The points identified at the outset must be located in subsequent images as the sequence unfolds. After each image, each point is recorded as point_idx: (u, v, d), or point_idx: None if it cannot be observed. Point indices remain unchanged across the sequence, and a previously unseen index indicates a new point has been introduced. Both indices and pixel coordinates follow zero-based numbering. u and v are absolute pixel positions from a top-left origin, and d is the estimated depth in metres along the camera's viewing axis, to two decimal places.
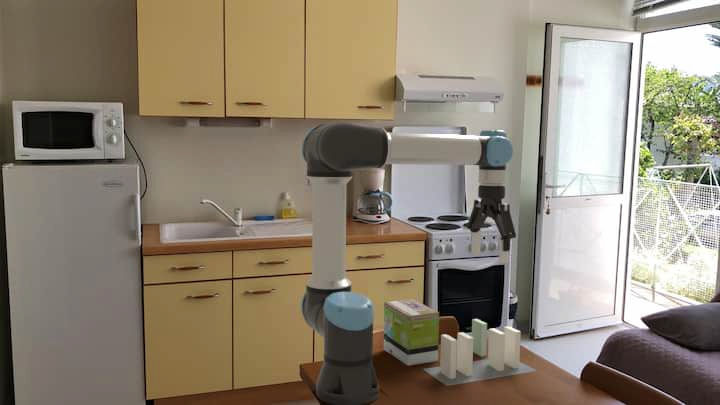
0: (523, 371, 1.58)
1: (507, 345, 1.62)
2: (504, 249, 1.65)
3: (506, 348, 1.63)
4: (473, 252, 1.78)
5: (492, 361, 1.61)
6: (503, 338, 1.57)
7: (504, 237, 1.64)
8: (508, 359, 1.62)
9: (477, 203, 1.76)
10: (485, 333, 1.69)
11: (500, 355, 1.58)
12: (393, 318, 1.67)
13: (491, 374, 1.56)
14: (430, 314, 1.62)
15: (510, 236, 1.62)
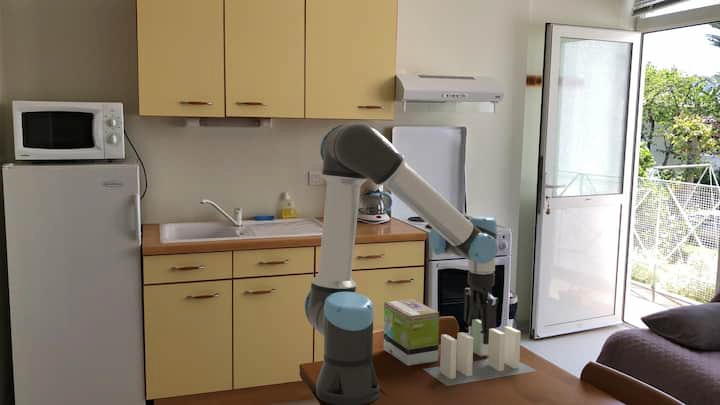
0: (523, 371, 1.58)
1: (507, 345, 1.62)
2: (484, 342, 1.67)
3: (506, 348, 1.63)
4: None
5: (492, 361, 1.61)
6: (503, 338, 1.57)
7: (484, 332, 1.66)
8: (508, 359, 1.62)
9: (467, 291, 1.74)
10: None
11: (500, 355, 1.58)
12: (393, 318, 1.67)
13: (491, 374, 1.56)
14: (430, 314, 1.62)
15: None
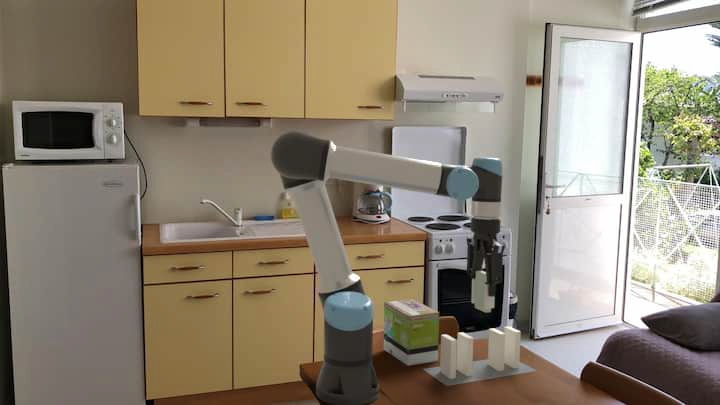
0: (523, 371, 1.58)
1: (507, 345, 1.62)
2: (489, 294, 1.53)
3: (506, 348, 1.63)
4: (473, 301, 1.59)
5: (492, 361, 1.61)
6: (503, 338, 1.57)
7: (489, 282, 1.52)
8: (508, 359, 1.62)
9: (470, 241, 1.60)
10: None
11: (500, 355, 1.58)
12: (393, 318, 1.67)
13: (491, 374, 1.56)
14: (430, 314, 1.62)
15: (495, 281, 1.50)
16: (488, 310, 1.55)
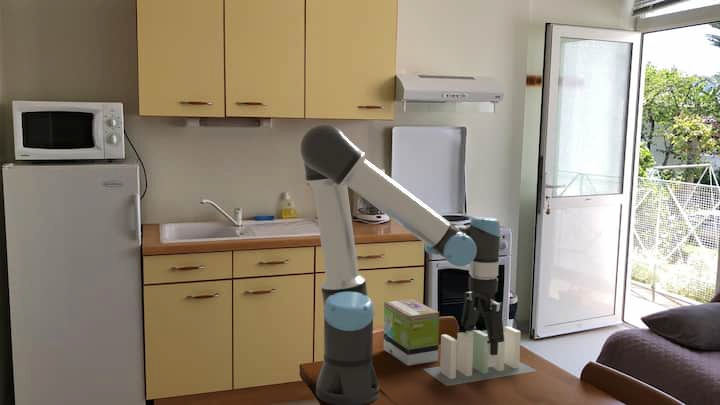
0: (523, 371, 1.58)
1: (507, 345, 1.62)
2: (491, 353, 1.52)
3: (506, 348, 1.63)
4: None
5: None
6: None
7: (491, 341, 1.51)
8: (508, 359, 1.62)
9: (468, 296, 1.61)
10: None
11: (500, 355, 1.58)
12: (393, 318, 1.67)
13: (491, 374, 1.56)
14: (430, 314, 1.62)
15: (498, 340, 1.50)
16: (486, 371, 1.56)
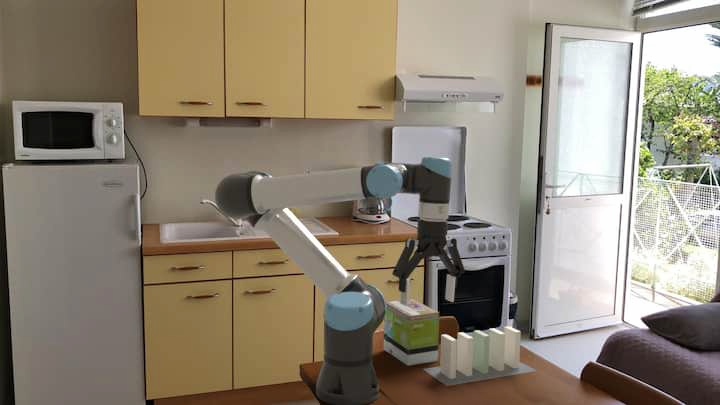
0: (523, 371, 1.58)
1: (507, 345, 1.62)
2: None
3: (506, 348, 1.63)
4: (446, 297, 1.55)
5: (492, 361, 1.61)
6: (503, 338, 1.57)
7: None
8: (508, 359, 1.62)
9: None
10: (488, 346, 1.56)
11: (500, 355, 1.58)
12: (393, 318, 1.67)
13: (491, 374, 1.56)
14: (430, 314, 1.62)
15: (393, 273, 1.46)
16: (486, 371, 1.56)
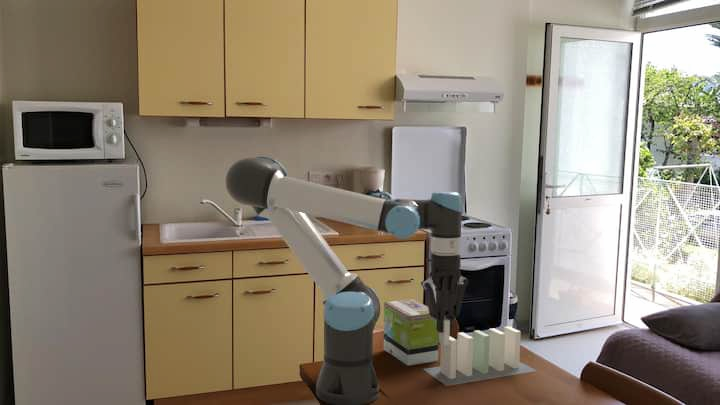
0: (523, 371, 1.58)
1: (507, 345, 1.62)
2: None
3: (506, 348, 1.63)
4: None
5: (492, 361, 1.61)
6: (503, 338, 1.57)
7: None
8: (508, 359, 1.62)
9: None
10: (488, 346, 1.56)
11: (500, 355, 1.58)
12: (393, 318, 1.67)
13: (491, 374, 1.56)
14: None
15: (430, 315, 1.51)
16: (486, 371, 1.56)
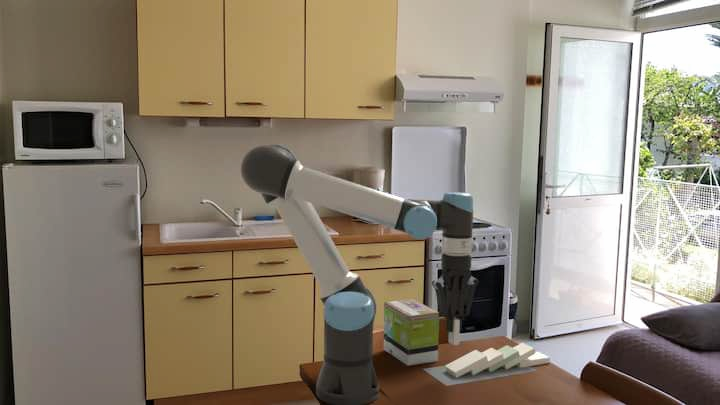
0: (523, 371, 1.58)
1: None
2: None
3: None
4: None
5: None
6: (531, 353, 1.62)
7: None
8: None
9: None
10: (511, 359, 1.59)
11: (517, 358, 1.60)
12: (393, 318, 1.67)
13: (491, 374, 1.56)
14: (430, 314, 1.62)
15: (441, 314, 1.53)
16: (490, 369, 1.57)
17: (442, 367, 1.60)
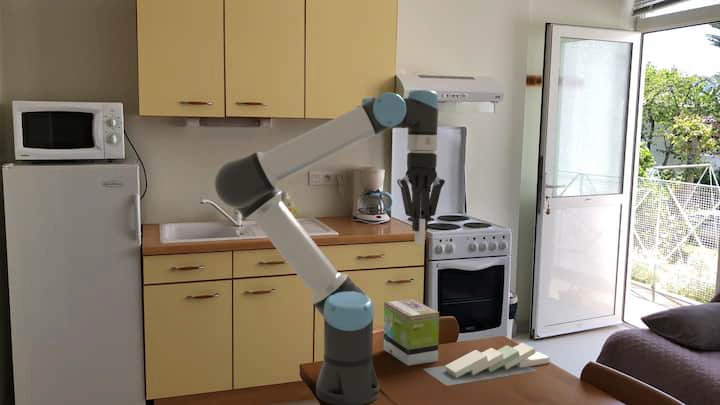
0: (523, 371, 1.58)
1: None
2: None
3: None
4: None
5: None
6: (531, 353, 1.62)
7: (412, 216, 1.54)
8: None
9: None
10: (511, 359, 1.59)
11: (517, 358, 1.60)
12: (393, 318, 1.67)
13: (491, 374, 1.56)
14: (430, 314, 1.62)
15: (406, 213, 1.53)
16: (490, 369, 1.57)
17: (442, 367, 1.60)
